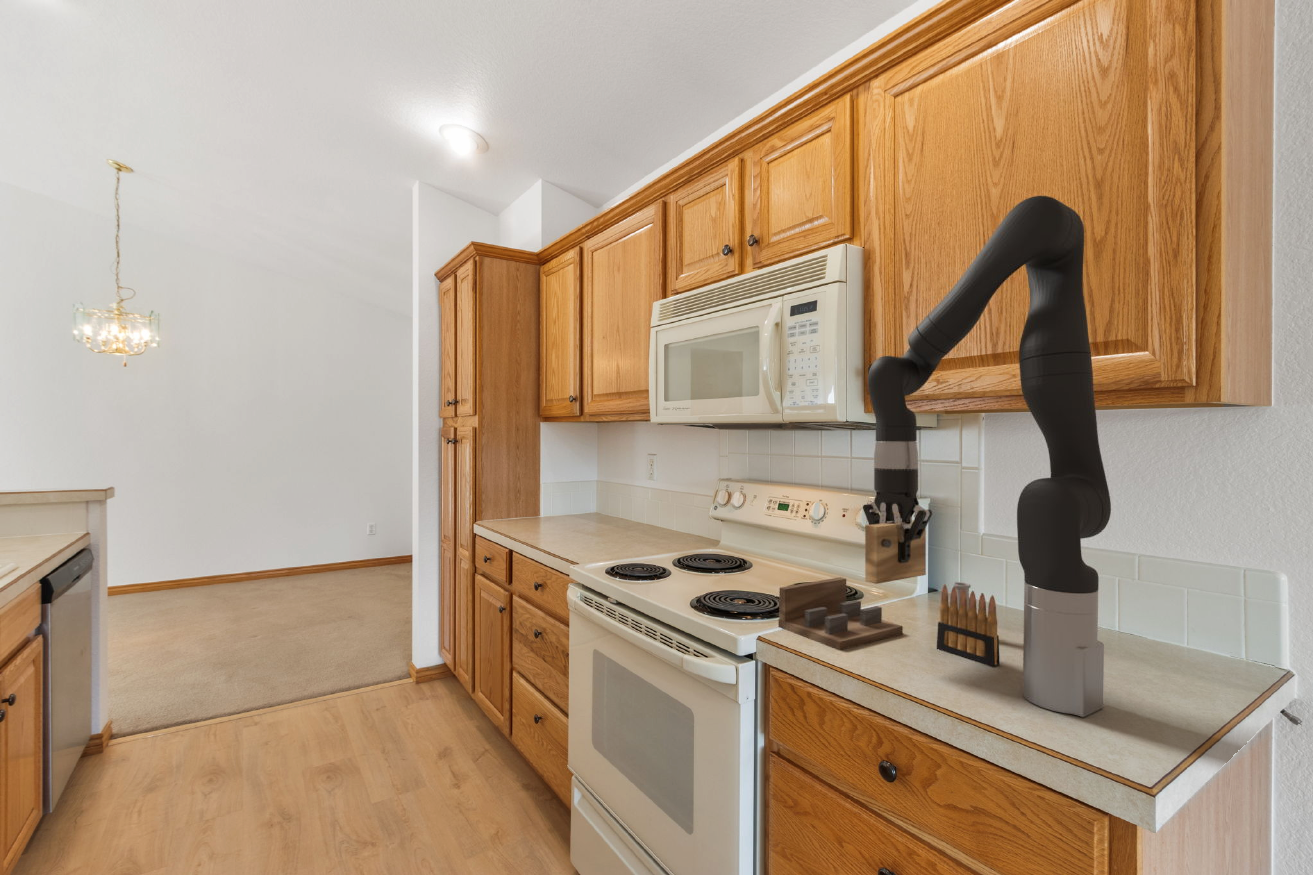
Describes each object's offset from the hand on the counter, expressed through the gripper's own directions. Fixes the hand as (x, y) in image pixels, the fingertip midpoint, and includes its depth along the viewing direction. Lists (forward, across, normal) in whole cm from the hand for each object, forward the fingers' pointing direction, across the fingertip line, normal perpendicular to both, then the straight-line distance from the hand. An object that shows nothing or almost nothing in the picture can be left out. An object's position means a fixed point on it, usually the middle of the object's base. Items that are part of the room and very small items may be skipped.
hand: (896, 560), depth 114 cm
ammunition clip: (+17, -9, -8) cm, 21 cm away
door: (+3, 0, 0) cm, 3 cm away
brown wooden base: (+16, +13, 0) cm, 21 cm away
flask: (+17, -1, -19) cm, 25 cm away
